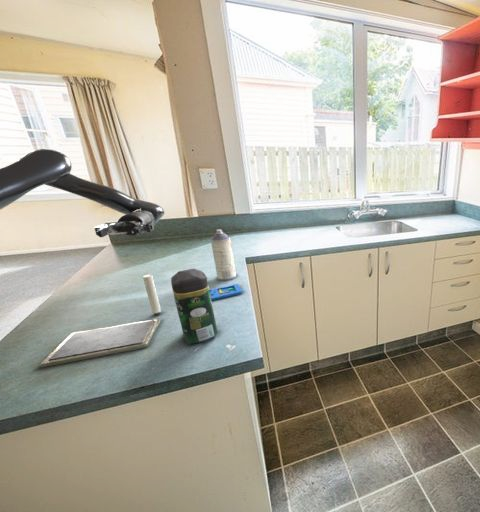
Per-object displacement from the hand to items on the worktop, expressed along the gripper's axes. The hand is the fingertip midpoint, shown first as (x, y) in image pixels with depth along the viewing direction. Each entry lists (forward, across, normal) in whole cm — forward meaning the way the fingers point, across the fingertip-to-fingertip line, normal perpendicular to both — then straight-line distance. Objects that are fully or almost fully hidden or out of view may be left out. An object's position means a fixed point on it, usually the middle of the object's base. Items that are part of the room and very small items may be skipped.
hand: (117, 232), depth 91 cm
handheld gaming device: (+2, +24, +24) cm, 34 cm away
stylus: (+10, +8, +25) cm, 28 cm away
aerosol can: (-15, +26, +24) cm, 39 cm away
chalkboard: (+23, 0, +25) cm, 34 cm away
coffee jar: (+29, +22, +25) cm, 44 cm away
